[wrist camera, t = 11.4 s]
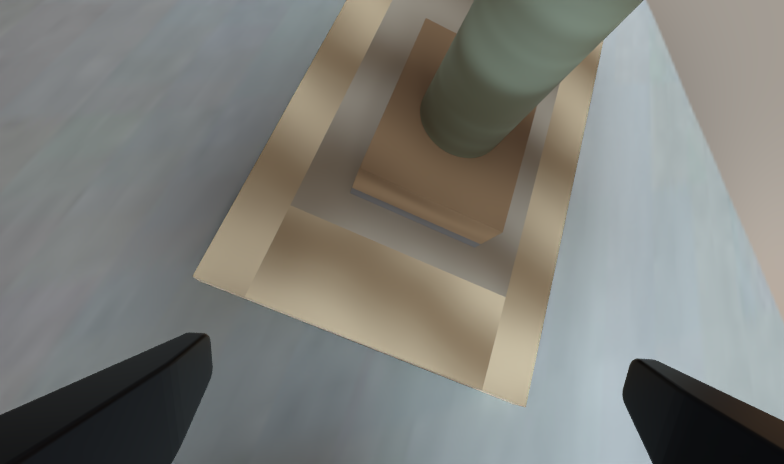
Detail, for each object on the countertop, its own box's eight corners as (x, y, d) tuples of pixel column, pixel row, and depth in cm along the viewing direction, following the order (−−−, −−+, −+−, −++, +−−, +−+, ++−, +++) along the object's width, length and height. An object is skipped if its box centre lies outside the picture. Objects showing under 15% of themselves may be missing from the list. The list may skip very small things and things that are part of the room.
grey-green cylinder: (474, 247, 17) (737, 104, 7) (350, 193, 17) (441, -53, 6) (515, 109, 20) (746, -138, 10) (409, 57, 19) (541, -267, 9)
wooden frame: (512, 403, 17) (525, 407, 16) (198, 280, 15) (192, 276, 14) (593, 41, 24) (605, 29, 23) (389, -67, 23) (393, -84, 22)
